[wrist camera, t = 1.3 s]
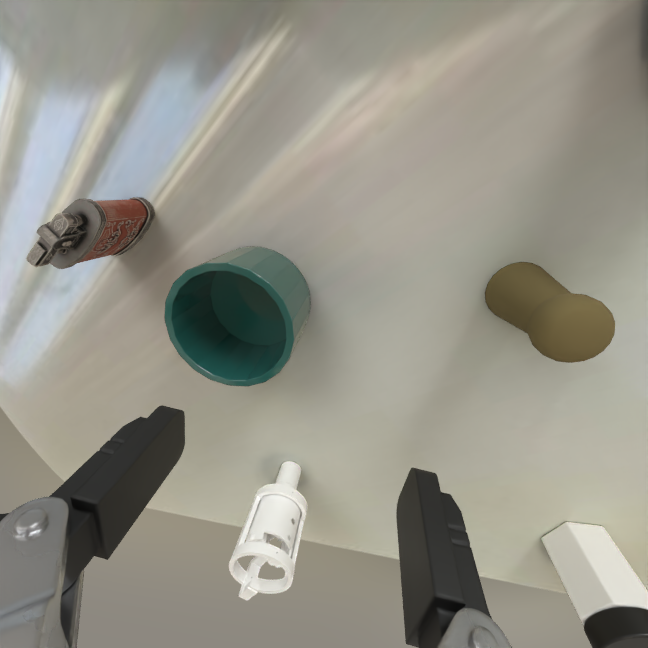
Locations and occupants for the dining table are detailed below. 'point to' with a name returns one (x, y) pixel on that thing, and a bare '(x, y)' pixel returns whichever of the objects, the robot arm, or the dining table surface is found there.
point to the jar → (600, 585)
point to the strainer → (271, 533)
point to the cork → (550, 313)
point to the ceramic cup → (238, 315)
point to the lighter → (91, 231)
